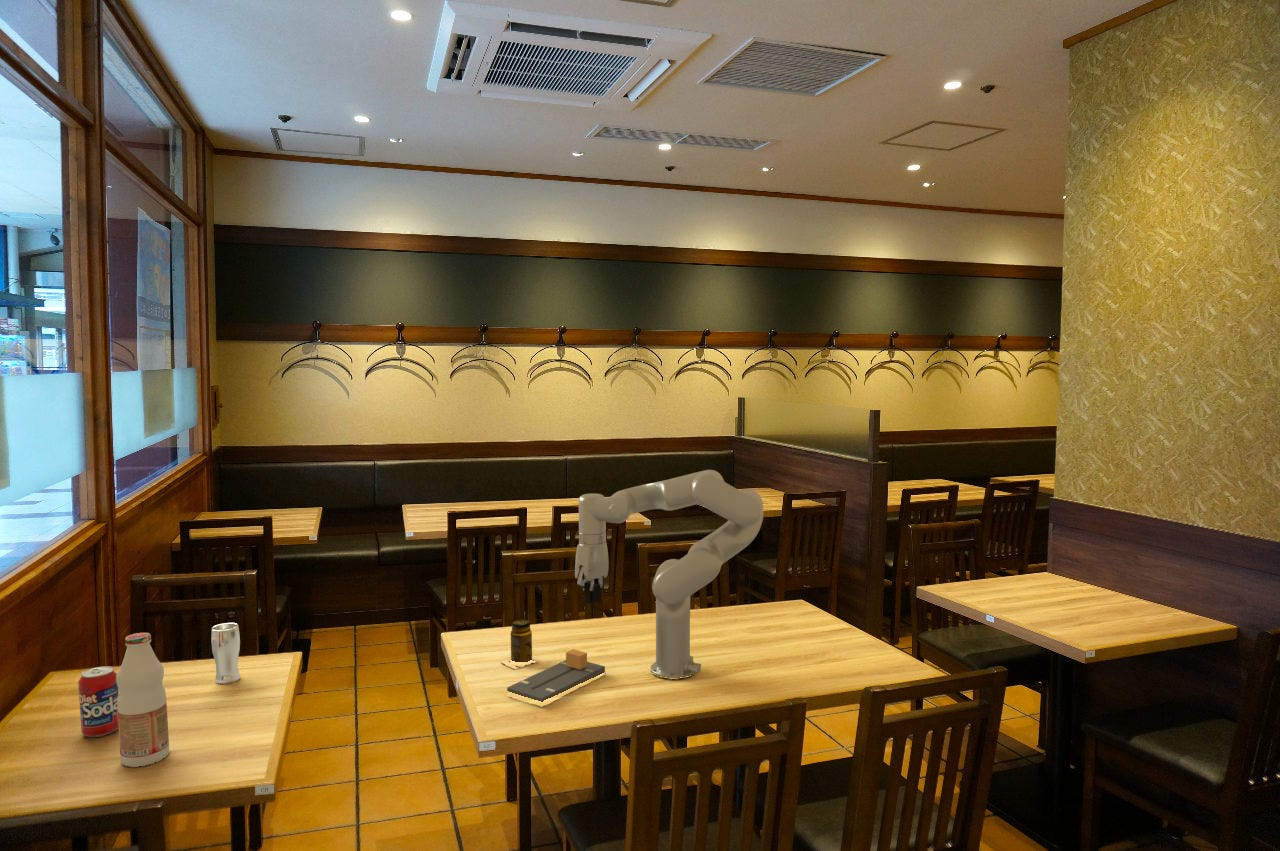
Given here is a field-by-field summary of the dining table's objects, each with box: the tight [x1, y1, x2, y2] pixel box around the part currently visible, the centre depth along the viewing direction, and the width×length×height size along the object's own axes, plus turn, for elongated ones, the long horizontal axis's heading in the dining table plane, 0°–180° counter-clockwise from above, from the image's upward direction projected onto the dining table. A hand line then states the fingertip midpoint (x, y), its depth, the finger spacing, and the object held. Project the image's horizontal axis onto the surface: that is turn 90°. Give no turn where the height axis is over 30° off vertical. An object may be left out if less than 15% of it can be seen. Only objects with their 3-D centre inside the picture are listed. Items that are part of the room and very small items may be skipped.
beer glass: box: [211, 622, 241, 685], centre depth 231 cm, size 7×7×15 cm
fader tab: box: [565, 648, 588, 669], centre depth 233 cm, size 3×5×4 cm, turn 55°
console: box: [506, 659, 606, 702], centre depth 227 cm, size 26×12×3 cm, turn 145°
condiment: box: [510, 619, 533, 662], centre depth 243 cm, size 7×8×12 cm
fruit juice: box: [116, 632, 170, 768], centre depth 186 cm, size 9×9×28 cm
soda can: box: [77, 665, 119, 738], centre depth 200 cm, size 8×8×15 cm
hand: (593, 601), depth 237 cm, fingers closed
